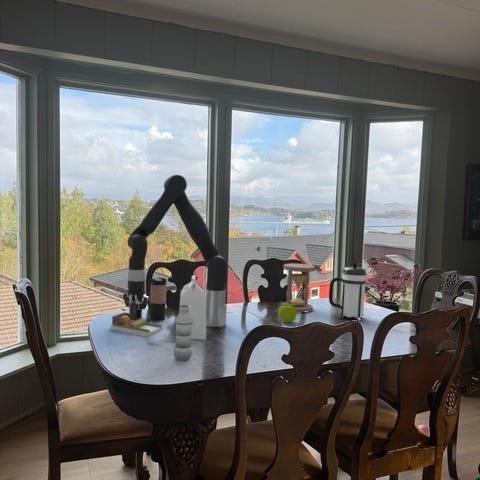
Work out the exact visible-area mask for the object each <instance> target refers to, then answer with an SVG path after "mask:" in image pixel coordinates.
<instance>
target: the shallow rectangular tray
mask: <svg viewBox="0 0 480 480" xmlns="http://www.w3.org/2000/svg"><path fill="white" fill-rule="evenodd" d="M109 329H110V330H111V331H112V330H113V331H117V332H121V333H122V332H123V333H127V334H128V333H129V334H133V335H138V336H143V337H149V336H151V335H154V334H157V333H159V332H162V331H164V326H162V324H157V323H151V322H146V321H145V325H142V326H139V327H132V326H127V325H126V324H123V325H121V327H120V326H115V325H112V324H111V325H110V328H109Z"/></svg>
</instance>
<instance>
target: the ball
mask: <svg viewBox="0 0 480 480" xmlns="http://www.w3.org/2000/svg"><path fill="white" fill-rule="evenodd" d="M122 318H123V324H126V320H127V319H129V317H128V316H126V315H124V316H122Z"/></svg>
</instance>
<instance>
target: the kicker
mask: <svg viewBox="0 0 480 480" xmlns="http://www.w3.org/2000/svg"><path fill="white" fill-rule="evenodd" d="M128 313H129V319H127V320H126V325H127V326H132V327H139V326H142V325H145V322H146V319H145V318H146V317H142V316H141V318H137V305H136V303H132V304H130V308H129V312H128Z"/></svg>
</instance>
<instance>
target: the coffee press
mask: <svg viewBox="0 0 480 480" xmlns="http://www.w3.org/2000/svg"><path fill="white" fill-rule="evenodd" d="M341 273H342V277H335V278H332V279H331V281H330V283H329V290H328V301H329V304H330V305H331V306H332V307H335V308H338V309H339V310H340V315H339V316H341V317H342V316H346V317H345V318H351V317H360V316H364V309H365V308H364V307H365V295H366V294H365V293H366V284H367V280H369V279H370V277H369V275H368V272H367V271H366V269H365V268H363V267H358V264H357V262H353V263H352V266H345V267H344V268H343V270H342V271H341ZM336 282H341V294H340V304H339V303H335V301H333V294H334V293H333V292H334V284H335V283H336Z"/></svg>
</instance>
